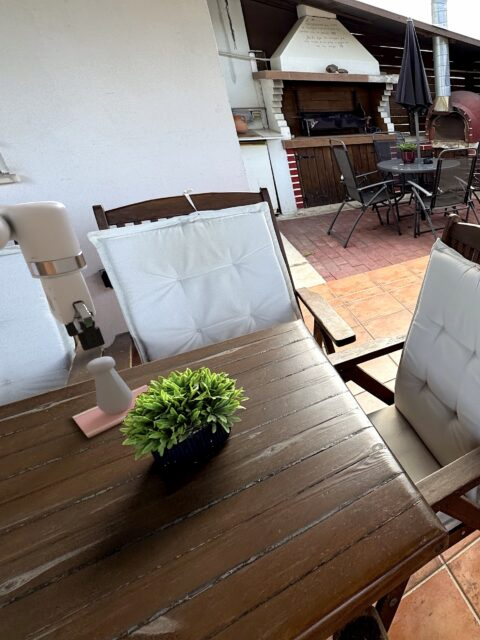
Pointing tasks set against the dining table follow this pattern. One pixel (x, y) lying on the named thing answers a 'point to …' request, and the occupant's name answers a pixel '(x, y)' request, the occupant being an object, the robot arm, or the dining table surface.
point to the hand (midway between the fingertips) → (86, 340)
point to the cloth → (103, 417)
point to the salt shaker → (109, 386)
